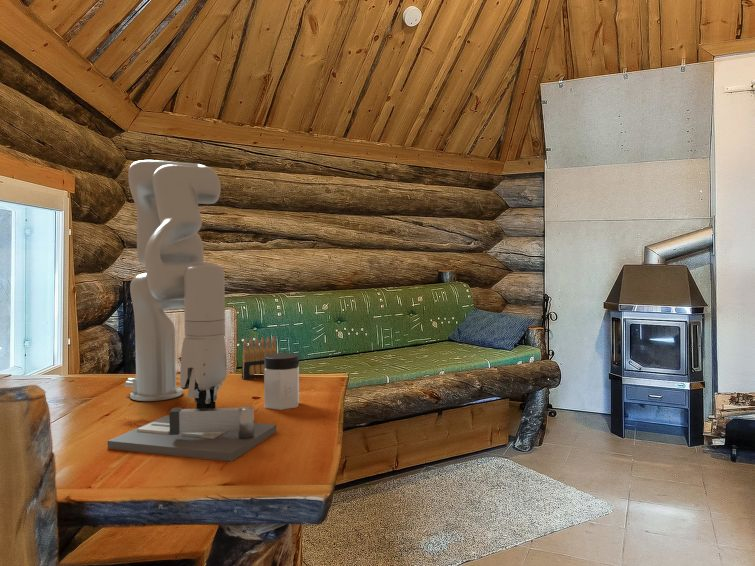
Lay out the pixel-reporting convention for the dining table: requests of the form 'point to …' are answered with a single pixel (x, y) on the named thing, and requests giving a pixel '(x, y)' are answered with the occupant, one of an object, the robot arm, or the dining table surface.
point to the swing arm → (212, 420)
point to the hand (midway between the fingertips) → (206, 421)
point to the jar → (281, 381)
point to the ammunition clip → (256, 357)
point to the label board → (189, 441)
